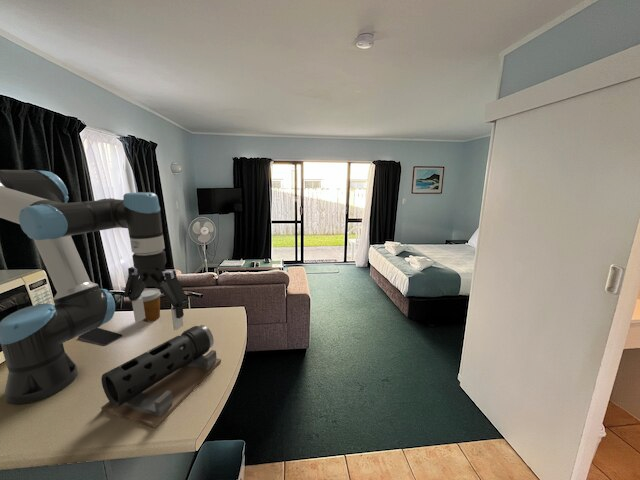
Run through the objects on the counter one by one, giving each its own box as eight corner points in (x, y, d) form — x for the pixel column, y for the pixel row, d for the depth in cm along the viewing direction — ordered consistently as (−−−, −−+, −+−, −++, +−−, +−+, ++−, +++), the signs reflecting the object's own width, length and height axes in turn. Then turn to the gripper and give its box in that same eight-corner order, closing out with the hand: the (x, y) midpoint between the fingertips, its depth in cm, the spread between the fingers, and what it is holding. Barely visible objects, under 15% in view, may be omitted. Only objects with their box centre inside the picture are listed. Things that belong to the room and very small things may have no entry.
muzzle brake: (105, 401, 73) (97, 367, 71) (198, 346, 96) (195, 319, 94) (123, 417, 68) (116, 381, 66) (216, 355, 92) (214, 327, 89)
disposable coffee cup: (157, 310, 127) (154, 286, 124) (168, 316, 122) (164, 291, 119) (134, 319, 119) (130, 293, 117) (144, 326, 114) (140, 299, 111)
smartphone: (104, 345, 101) (76, 337, 105) (105, 348, 101) (77, 339, 105) (124, 334, 107) (96, 327, 112) (124, 337, 108) (97, 329, 112)
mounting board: (101, 410, 73) (97, 393, 72) (177, 352, 97) (175, 338, 96) (155, 428, 68) (152, 409, 67) (221, 361, 92) (219, 347, 91)
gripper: (99, 251, 73) (113, 323, 78) (176, 260, 66) (185, 338, 71) (126, 244, 80) (137, 311, 85) (197, 251, 73) (205, 324, 78)
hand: (159, 324), depth 78 cm, fingers open, 13 cm apart
